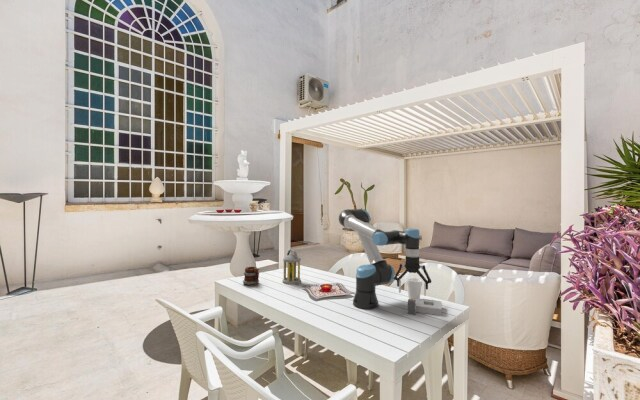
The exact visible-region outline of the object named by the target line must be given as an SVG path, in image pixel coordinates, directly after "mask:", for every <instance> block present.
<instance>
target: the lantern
mask: <svg viewBox="0 0 640 400" xmlns="http://www.w3.org/2000/svg"><path fill="white" fill-rule="evenodd" d="M291 251H292V252H293V254H290V253H291ZM282 262H283V279H282V280H281V281H282V284H284V285H298V284H299V285H300V284H301V282H302V280H301V277H300V276H301V257H300V256H299V255H297V251H296V250H295V249H293V248H291V249H289V250H288V251H287V253H286V255H285V256H284V257H283V260H282Z"/></svg>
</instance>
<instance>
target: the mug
mask: <svg viewBox="0 0 640 400" xmlns="http://www.w3.org/2000/svg"><path fill="white" fill-rule="evenodd" d="M259 270H260V269H259V268H257V266H246V267H245V268H244V271H243V277H244V278H243V280H242V283H243V285H244V286H248V287H251V286H257V285H258V284H259V282H260V280H259V277H260V272H259Z"/></svg>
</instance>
